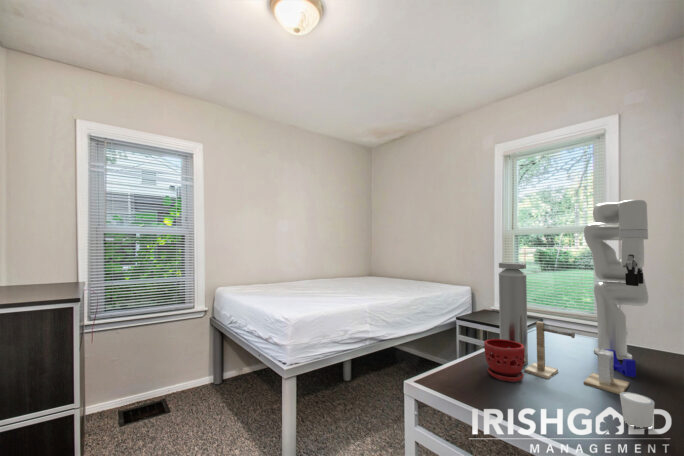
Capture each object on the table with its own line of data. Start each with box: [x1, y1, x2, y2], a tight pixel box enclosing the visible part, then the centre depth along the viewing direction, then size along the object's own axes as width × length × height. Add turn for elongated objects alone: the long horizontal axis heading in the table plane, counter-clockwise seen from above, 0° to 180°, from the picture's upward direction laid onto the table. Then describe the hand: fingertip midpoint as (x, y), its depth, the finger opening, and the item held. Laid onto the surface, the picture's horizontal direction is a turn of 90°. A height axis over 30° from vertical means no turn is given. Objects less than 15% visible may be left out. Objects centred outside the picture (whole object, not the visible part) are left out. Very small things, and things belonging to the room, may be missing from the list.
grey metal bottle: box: [498, 261, 529, 367], centre depth 129 cm, size 10×10×40 cm
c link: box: [597, 349, 615, 386], centre depth 108 cm, size 6×3×10 cm, turn 129°
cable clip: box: [604, 349, 637, 378], centre depth 121 cm, size 12×4×6 cm, turn 171°
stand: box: [523, 320, 576, 380], centre depth 116 cm, size 10×15×18 cm
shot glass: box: [619, 391, 655, 428], centre depth 84 cm, size 7×7×7 cm
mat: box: [583, 372, 630, 395], centre depth 108 cm, size 12×10×1 cm
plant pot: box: [483, 338, 525, 382], centre depth 114 cm, size 13×13×12 cm
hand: (634, 284), depth 109 cm, fingers open, 9 cm apart
